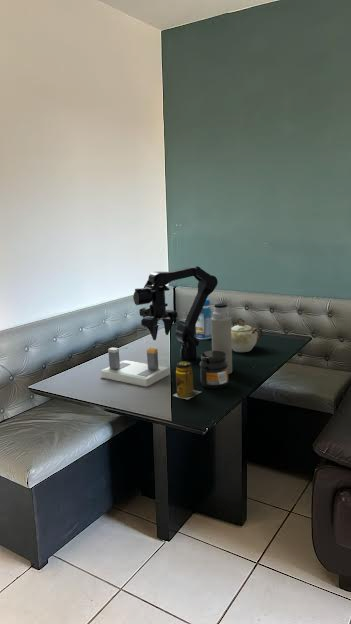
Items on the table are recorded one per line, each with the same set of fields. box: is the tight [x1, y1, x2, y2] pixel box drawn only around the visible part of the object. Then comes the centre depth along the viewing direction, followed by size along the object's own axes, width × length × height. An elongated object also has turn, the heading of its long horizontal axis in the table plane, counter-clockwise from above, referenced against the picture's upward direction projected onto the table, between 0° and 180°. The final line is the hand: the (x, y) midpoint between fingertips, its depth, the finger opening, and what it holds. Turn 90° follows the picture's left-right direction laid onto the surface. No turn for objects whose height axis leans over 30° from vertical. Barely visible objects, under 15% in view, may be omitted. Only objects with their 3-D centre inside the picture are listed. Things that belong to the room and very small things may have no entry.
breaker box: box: [100, 359, 170, 387], centre depth 201 cm, size 15×23×3 cm, turn 56°
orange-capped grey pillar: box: [146, 347, 159, 370], centre depth 198 cm, size 2×4×8 cm, turn 56°
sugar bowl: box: [231, 318, 263, 353], centre depth 228 cm, size 20×15×15 cm
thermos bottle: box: [211, 303, 233, 375], centre depth 199 cm, size 8×8×28 cm
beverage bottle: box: [195, 297, 213, 340], centre depth 251 cm, size 8×8×20 cm
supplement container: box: [199, 350, 229, 390], centre depth 187 cm, size 10×10×12 cm
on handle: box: [107, 347, 121, 369], centre depth 201 cm, size 2×4×8 cm, turn 56°
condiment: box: [172, 360, 202, 400], centre depth 179 cm, size 7×8×12 cm
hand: (160, 337), depth 212 cm, fingers open, 9 cm apart
